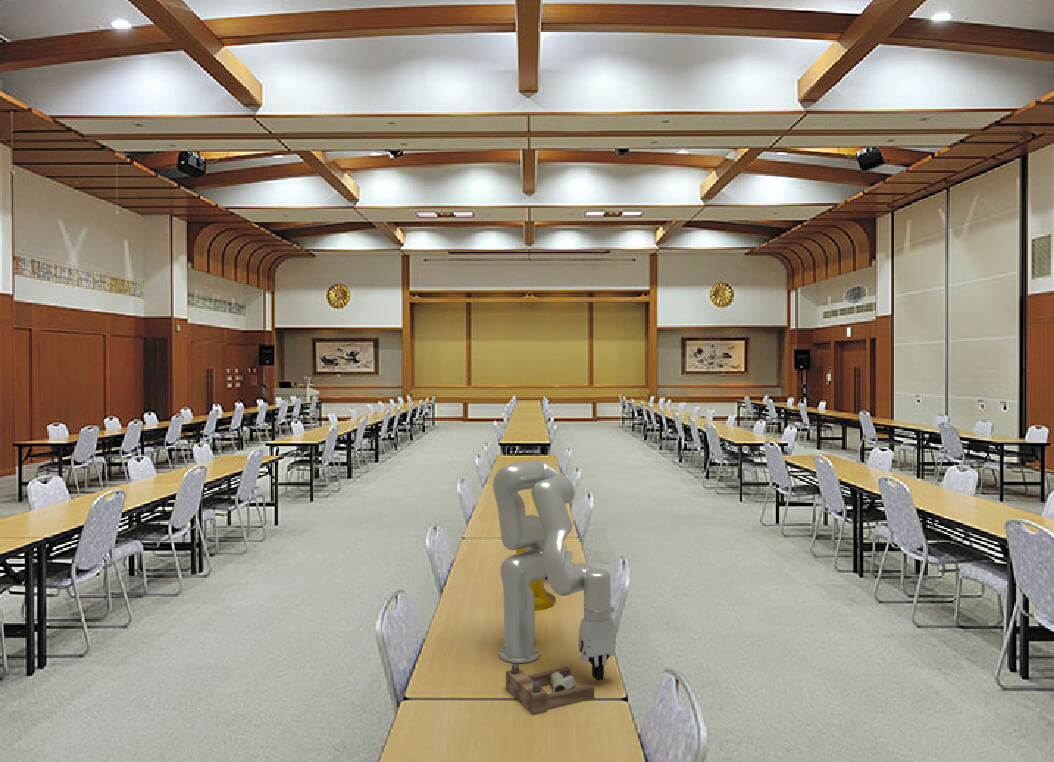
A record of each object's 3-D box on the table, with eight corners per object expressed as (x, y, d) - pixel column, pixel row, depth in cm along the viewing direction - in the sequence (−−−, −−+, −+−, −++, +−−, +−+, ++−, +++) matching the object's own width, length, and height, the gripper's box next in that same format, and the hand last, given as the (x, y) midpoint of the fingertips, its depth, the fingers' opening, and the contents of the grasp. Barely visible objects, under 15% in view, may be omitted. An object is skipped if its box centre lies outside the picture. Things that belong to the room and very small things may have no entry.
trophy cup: (496, 609, 273) (496, 534, 272) (525, 591, 294) (525, 521, 294) (538, 616, 265) (538, 539, 264) (566, 597, 287) (566, 525, 286)
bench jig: (505, 688, 205) (505, 663, 205) (565, 676, 214) (565, 652, 214) (533, 714, 190) (533, 687, 190) (596, 699, 199) (596, 674, 198)
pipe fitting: (573, 685, 209) (550, 684, 208) (574, 672, 209) (551, 671, 208) (577, 698, 201) (553, 697, 200) (578, 684, 201) (554, 683, 200)
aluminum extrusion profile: (572, 565, 333) (571, 543, 333) (570, 585, 303) (570, 561, 303) (540, 564, 335) (540, 543, 334) (535, 584, 304) (535, 560, 304)
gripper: (612, 606, 215) (613, 668, 215) (567, 614, 208) (568, 678, 208) (627, 613, 208) (627, 678, 208) (581, 622, 201) (582, 688, 202)
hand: (598, 678), depth 208 cm, fingers closed
